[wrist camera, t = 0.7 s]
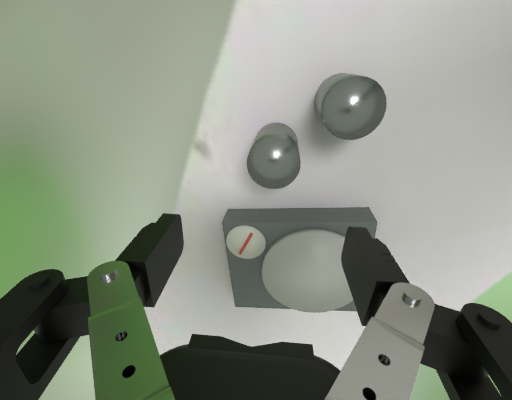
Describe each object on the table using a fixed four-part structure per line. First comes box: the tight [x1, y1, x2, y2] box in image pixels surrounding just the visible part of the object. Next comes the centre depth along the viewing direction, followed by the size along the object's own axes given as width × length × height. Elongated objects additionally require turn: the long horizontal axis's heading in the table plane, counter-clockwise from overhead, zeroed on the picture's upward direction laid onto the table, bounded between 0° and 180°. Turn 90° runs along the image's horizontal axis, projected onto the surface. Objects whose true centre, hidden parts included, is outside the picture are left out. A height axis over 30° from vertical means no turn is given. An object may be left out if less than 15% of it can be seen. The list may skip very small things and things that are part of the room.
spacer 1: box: [247, 123, 300, 189], centre depth 24 cm, size 4×4×6 cm
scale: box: [222, 208, 377, 312], centre depth 31 cm, size 16×13×4 cm
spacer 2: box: [315, 73, 386, 140], centre depth 21 cm, size 4×4×6 cm
